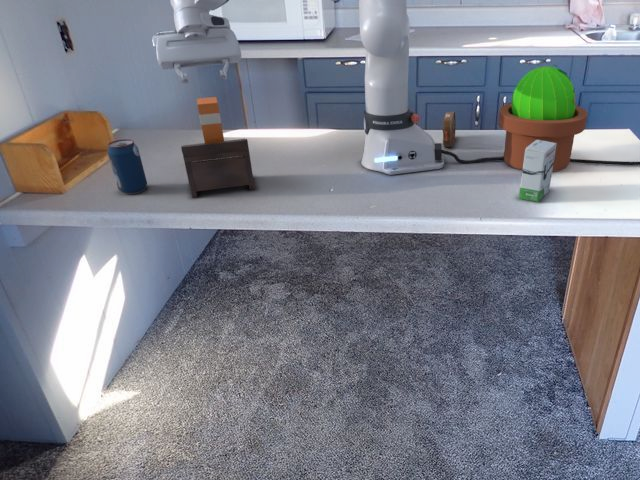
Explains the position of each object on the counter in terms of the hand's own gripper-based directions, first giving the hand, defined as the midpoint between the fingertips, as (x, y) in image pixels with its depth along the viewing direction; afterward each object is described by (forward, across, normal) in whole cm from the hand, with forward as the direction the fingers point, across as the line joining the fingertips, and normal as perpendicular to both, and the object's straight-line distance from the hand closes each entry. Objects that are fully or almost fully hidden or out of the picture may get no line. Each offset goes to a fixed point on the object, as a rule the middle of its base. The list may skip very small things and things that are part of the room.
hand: (204, 80), depth 136 cm
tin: (+20, +66, +14) cm, 71 cm away
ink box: (+48, +69, -19) cm, 86 cm away
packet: (+18, -1, -1) cm, 18 cm away
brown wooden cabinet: (+26, -1, +5) cm, 27 cm away
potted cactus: (+35, +81, -4) cm, 89 cm away
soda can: (+22, -22, +9) cm, 33 cm away
